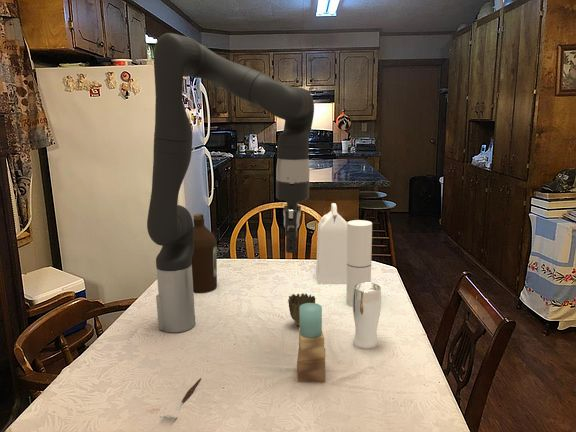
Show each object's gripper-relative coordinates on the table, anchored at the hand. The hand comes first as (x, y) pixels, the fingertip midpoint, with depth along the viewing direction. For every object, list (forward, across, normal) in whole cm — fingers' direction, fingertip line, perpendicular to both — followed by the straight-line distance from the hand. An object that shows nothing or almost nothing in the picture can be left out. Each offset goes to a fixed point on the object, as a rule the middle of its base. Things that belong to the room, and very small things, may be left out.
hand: (291, 246), depth 110 cm
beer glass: (+26, -3, +19) cm, 32 cm away
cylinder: (+16, +11, +5) cm, 20 cm away
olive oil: (+27, -40, -31) cm, 57 cm away
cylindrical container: (+26, -28, +19) cm, 43 cm away
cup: (+26, -12, +2) cm, 29 cm away
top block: (+21, +12, +5) cm, 24 cm away
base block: (+26, +12, +5) cm, 29 cm away
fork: (+27, +22, -20) cm, 40 cm away
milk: (+26, -50, +12) cm, 58 cm away
